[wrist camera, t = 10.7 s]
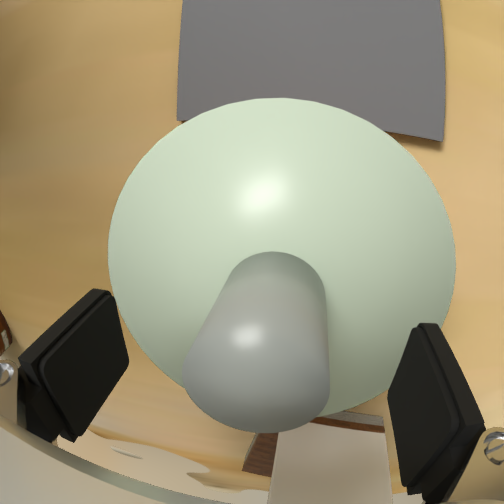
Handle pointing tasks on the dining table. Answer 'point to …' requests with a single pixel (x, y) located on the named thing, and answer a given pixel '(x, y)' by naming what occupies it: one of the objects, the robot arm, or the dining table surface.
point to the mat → (318, 58)
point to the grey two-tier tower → (325, 461)
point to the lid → (279, 260)
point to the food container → (4, 335)
